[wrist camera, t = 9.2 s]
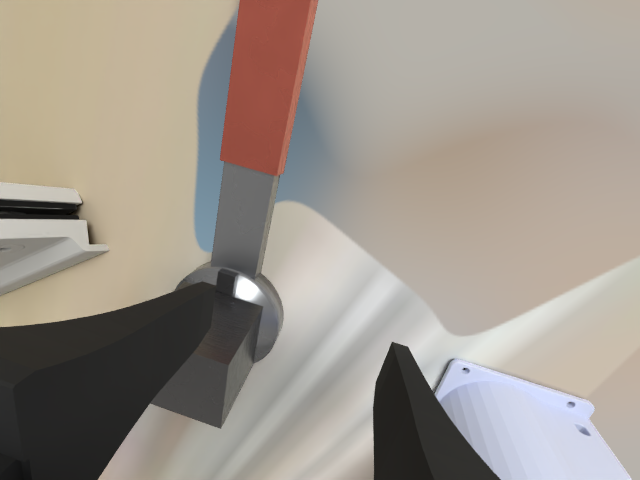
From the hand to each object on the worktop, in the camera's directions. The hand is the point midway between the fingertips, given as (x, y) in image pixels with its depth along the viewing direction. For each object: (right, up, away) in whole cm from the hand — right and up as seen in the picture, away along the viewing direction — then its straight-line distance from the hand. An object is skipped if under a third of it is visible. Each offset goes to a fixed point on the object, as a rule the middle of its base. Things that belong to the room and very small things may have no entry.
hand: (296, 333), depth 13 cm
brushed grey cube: (-6, -2, +10) cm, 12 cm away
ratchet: (-4, +6, +9) cm, 11 cm away
